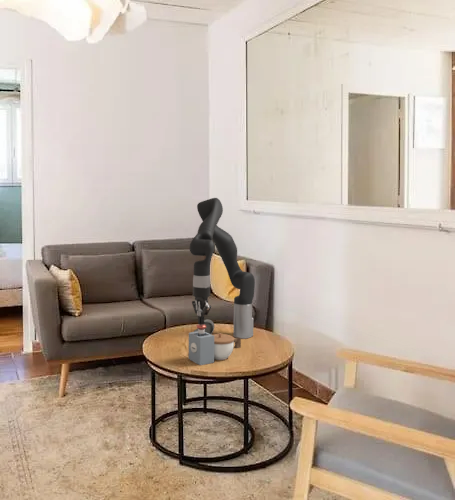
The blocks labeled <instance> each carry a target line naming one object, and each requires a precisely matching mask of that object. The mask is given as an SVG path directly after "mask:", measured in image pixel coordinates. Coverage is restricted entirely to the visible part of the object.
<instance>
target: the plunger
mask: <svg viewBox="0 0 455 500" xmlns="http://www.w3.org/2000/svg"><path fill="white" fill-rule="evenodd" d="M205 328H206V325H205V324H203V325H200V324H198V323H197V324H196V329H198V336H199V337H200V336H205Z"/></svg>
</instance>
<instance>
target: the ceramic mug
mask: <svg viewBox="0 0 455 500" xmlns="http://www.w3.org/2000/svg"><path fill="white" fill-rule="evenodd" d="M204 324H205V325H206V328H205V332H207V333H209V334H211V335H213V333H214V331H215V323H214V322H213V320H211V319H207V318H206V319H204ZM197 331H198V328H196V329H195V330H193V332H197Z"/></svg>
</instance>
